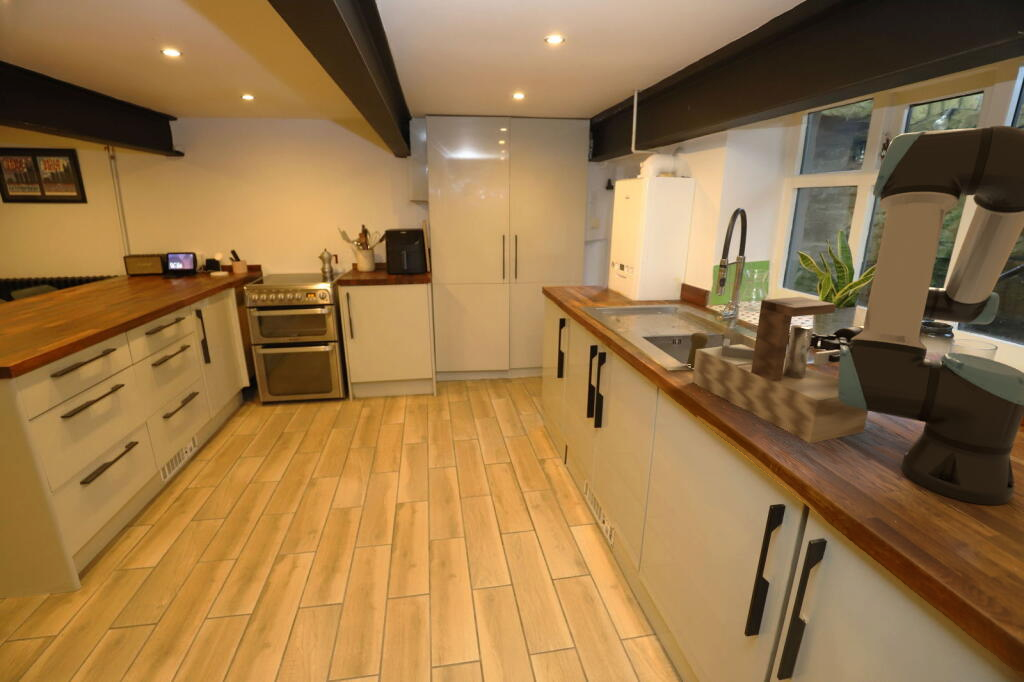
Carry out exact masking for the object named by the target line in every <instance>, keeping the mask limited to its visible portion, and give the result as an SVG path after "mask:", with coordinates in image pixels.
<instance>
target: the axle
mask: <svg viewBox="0 0 1024 682" xmlns="http://www.w3.org/2000/svg"><path fill="white" fill-rule="evenodd" d="M789 332H790V337H789V343H788V344H787V349H786V355H785V360H786V361H785V367H784V373H783V375H785V376H787V377H790V378H795V379H802V378H804V377H805V372H806V367H807V366H808V360H809V355H810V349H811V348H810V347H811V346H810V344H811V339H812V333H813V332H814V327H812V326H809V325H803V324H791V325H790V331H789Z"/></svg>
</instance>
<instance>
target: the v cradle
mask: <svg viewBox="0 0 1024 682" xmlns="http://www.w3.org/2000/svg"><path fill="white" fill-rule="evenodd" d="M730 343H731V339H730V338H723V343H722V346H717V347H716V346H715V347H706V348H705V349H699V350H698V351H701V352H703V353H705V354H708V355H710V356H713V357H715V358H717V359H720V360H722V361H725V362H727V363H729V364H732V365H734V366H740V365H748V364H752V363H753V356H754V349H755V348H753V349H750V348H751V347H750V348H747V347H744V346H741V345H739V344H731V345H730Z"/></svg>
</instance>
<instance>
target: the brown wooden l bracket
mask: <svg viewBox="0 0 1024 682" xmlns="http://www.w3.org/2000/svg"><path fill="white" fill-rule="evenodd" d="M760 303H761V304H760V308H759V309H760V311H759V318H758V323H757V329H756V330H757V331H756V336H755V344H754V348H753V349H754V356H753V363H752V370H751V373H753V374H756V375H758V376H761V377H763V378H765V379H768V380H770V381H773V382H774V381H780V380H781V379H782V373H783V367H784V361H785V360H786V355H787V349H788V344H787V343H788V337H789V332H790V331H791V326H792V319H793V318H794V317H803V316H805V317H806V316H816V315H824V314H825V315H826V314H834V313H835V311H836V306H837V305H836V304H837V303H833V302H828V301H823V300H818V299H813V298H809V297H808V298H807V297H804V296H796V297H784V298H783V297H782V298H771V299H762V300H761V301H760Z"/></svg>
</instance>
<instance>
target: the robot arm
mask: <svg viewBox="0 0 1024 682" xmlns="http://www.w3.org/2000/svg"><path fill="white" fill-rule="evenodd" d="M873 187H874V188H873V191H872V196H875V197H877V198H880V201H879V206H880V208H881V209H883V211H885V212H886V218H885V222H884V227H883V231H882V237H881V242H880V246H879V251H878V256H877V261H876V264H875V265H876V266H875V270H874V275H873V279H872V283H871V287H870V288H871V289H870V293H869V299H868V303H867V307H866V313H865V317H864V321H863V322H864V323H863V325H858V326H853V327H852V326H851V327H844V328H839V329H838V330H836V331H834V333H833V334H821V332H819V331H816V332H814V331H813V333H812V339H811V344H810V347H813V349H814V350H815V349H816V350H823V351H817V352H815V354H814V360H813V365H814V366H815V365H816V366H819V365H821V366H822V365H826V364H835V363H839V365H838V379H839V382H838V398H839V400H840V401H841V402H842V403H843V404H844V405H847V406H851V407H855V408H859V409H863V410H864V411H868V412H873V413H878V414H883V415H888V416H892V417H898V418H904V419H908V420H912V421H917V422H923V423H925V424H924V427H923V430H922V433H921V434H920V436H919V437H918V438H917V439H916V440H915V442H914V443H913V444H912V445H911V446H910V448H909V450H908V451H907V452H906V453H905V454H904V455H903V459H902V462H901V470H902V472H903V473H904V474H905V475H906V476H907V477H908V478H909V479H910V480H912V481H914V482H915V483H917V484H918V485H920V486H922V487H925V488H926V489H928V490H930V491H933V492H935V493H937V494H941V496H942V495H943V496H945V497H949V498H951V499H952V498H953V499H955V500H958V501H962V502H966V503H973V504H979V505H988V506H996V505H997V506H999V505H1000V506H1001V505H1004V504H1007V503H1010V501H1011V500H1012V498H1013V495H1014V492H1015V490H1016V489H1015V488H1016V487H1015V481H1014V480H1015V479H1014V474H1013V467H1012V460H1011V453H1012V450H1013V447H1014V445H1015V441H1016V438H1017V436H1018V432H1019V429H1020V426H1021V423H1022V421H1023V417H1024V372H1023V371H1022V370H1020V369H1017V368H1015V367H1013V366H1010V365H1009V364H1005V363H1002V362H999V361H997V360H993V359H990V358H985V357H982V356H978V355H972V354H967V353H962V352H961V353H956V352H947V353H944V354H943V356H941V357H940V360H937V359H931V358H926V355H927V351H928V348H927V346H926V345H925V344H924V343H923V342H922V341H921V340H920V331H921V327H922V323H923V319H926V320H933V321H934V320H935V321H943V322H950V323H961V324H963V325H964V324H965V325H967V324H968V325H969V324H971V325H974V324H975V325H989V324H991V323H992V322H993V321H994V319H995V318H996V315H997V312H998V310H999V305H1000V295H999V294H998V292H993V290H994V288H995V287H996V284H997V282H998V280H999V278H1000V276H1001V274H1002V272H1003V270H1004V268H1005V266H1006V264H1007V262H1008V260H1009V258H1010V256H1011V254H1012V253H1013V249H1014V247H1015V246H1016V243H1017V241H1018V240H1019V237H1020V235H1021V233H1022V232H1023V229H1024V129H1022V128H1019V127H1014V126H1009V125H991V126H986V127H974V128H973V127H972V128H957V129H954V128H953V129H942V130H929V131H928V130H921V131H918V132H917V131H916V132H908V133H901V134H899V135H896V136H895V137H894V138H893V139H892V140H891V141H890V144H889V145H888V147H887V150H886V152H885V155H884V158H883V159H882V162H881V165H880V168H879V171H878V175H877V178H876V181H875V183H874V186H873ZM962 196H973V199H972V200H973V202H974V203H975V205H976V208H975V210H974V212H973V214H972V215H973V216H972V218H971V220H970V223H969V225H968V229H967V232H966V234H965V236H964V238H963V242H962V245H961V248H960V250H959V253H958V255H957V257H956V260H955V263H954V266H953V268H952V271H951V274H950V276H949V279H948V282H947V283H946V287H945V288H942V287H941V288H940V287H931V286H930V285H931V281H932V276H933V272H934V267H935V262H936V258H937V254H938V253H937V252H938V248H939V244H940V241H941V240H940V238H941V234H942V229H943V226H944V221H945V215H946V213H948V212H949V211H950V210H952V209H953V208H955V207H957V206H958V205H959V202H960V197H962ZM789 337H790V331H789ZM789 337H788V343H789ZM788 343H787V345H788ZM819 344H820V345H819ZM824 350H825V351H824Z"/></svg>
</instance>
